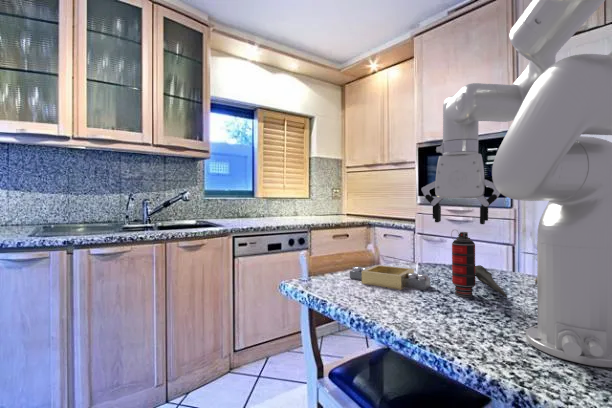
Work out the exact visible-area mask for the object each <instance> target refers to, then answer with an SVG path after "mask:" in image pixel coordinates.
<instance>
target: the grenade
mask: <svg viewBox="0 0 612 408" xmlns="http://www.w3.org/2000/svg"><path fill="white" fill-rule="evenodd" d="M454 231H456V232H457V234H458V235H457V237H456V239H454V238H453V232H454ZM468 235H469V233H468V232H467V231H460V232H459V231H458V229H453V230H452V231H451V234H450V236H451V240H453V241H452V242H451V271H452V273H451V279H452V280H451V282H452V285H454V294H455V295H456V296H457V297H461V298H472V296H473V294H474V293H473V288H474V287H475V286H476V276H475V266H476V244H475V242H474V241H473V240H471V237H469V236H468Z"/></svg>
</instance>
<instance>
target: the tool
mask: <svg viewBox="0 0 612 408" xmlns="http://www.w3.org/2000/svg"><path fill="white" fill-rule="evenodd" d="M475 278H477V279H478V281H480V282H481V283H483V284H485V285H487V286H488V287H489V288H490V289H492V290H493V291H496V292H497V293H499V294H500V295H502V296H503V297H505V298H506V299H507V298H508V295H507V293H506V292H505V291H504V289H502V288H501V287H500V286H499V285H498V283H497V282H496V280H494V278H493V275H492V273H491V272H489V271H488V270H487V269H486V268H485V267H484V266H483V265H475Z"/></svg>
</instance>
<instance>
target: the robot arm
mask: <svg viewBox="0 0 612 408" xmlns="http://www.w3.org/2000/svg"><path fill="white" fill-rule="evenodd" d="M605 1H606V0H531V1H530V2H529V4H528V6H527V7H526V8H525V10H523V12H522V13H521V15H520V16H519V18H518V19H517V21H516V22H515V23H514V24H513V26H512V27H511V28H510V31H509V34H508V36H509V41H510V43H511V45H512V47H513V49H515V50H516V52H517V53H519V54H520V55H521V56H522V57H523V58H525V59H527V61H528V64H527V66H526V68H525V69H524V71H523V72H522V73H521V74H519V75H520V76H518V78H517V79H516V80H515V81H513V83H512V84H502V83H499V84H497V83H478V82H477V83H475V82H474V83H468V84H466V85H464V86H462V87H461V88H460V89H459V90H458V91H457V92H456V93H455V95H451V96H448V97H447V98H446V99H444V101H443V105H442V143H441V145H440V146H436V149H435V151H436V153H440V154H441V155H439V156H438V159H437V164H436V172H435V173H436V174H435V180H434V181H432V182H430V183H428V184H426V185H425V186H423V187H421V192H422V194H423V196H424V197H425V200H426V201H428V203H429V204H430V205H431V206H432V219H433V220H434V223H440V222H441V221H442V206H441V205H440V204H441V202H442V201H444V199H474V198H476V200H478V201H479V203H481V206H480V207H479V224H480V225H485V224H486V222H488V221H489V206H490V205H491V204H493V203H494V202H495V201H496V200H497V199H498V198H499V196H500V195H502V196H504V197H506V198H508V199H512V200H516V201H525V202H526V201H527V202H528V201H529V202H540V201H541V202H547V204H546V205H545V206H546V207H545V208H544V210H543V212H542V214H541V216H540V219H539V221H538V227H537V233H536V235H537V238H536V239H537V240H536V241H537V242H536V245H537V246H536V250H537V251H536V253H537V254H536V258H537V259H536V261H537V262H536V264H537V270H536V271H537V275H536V276H537V277H536V278H537V283H536V284H537V285H536V287H537V288H536V289H537V292H536V293H537V325H534V326H531V327H528V328H527V329H526V330H525V339H526V341H527V342H528V343H529V344H530V345H532V346H533V347H534V348H536V350H537V349H538V350H539V351H541V352H543V353H546V354H547V355H551V356H553V357H557V358H559V359H562V360H565V361H569V362H573V363H576V364H582V365H585V366H586V365H587V366H592V367H598V368H611V369H612V142H611V141H609V140H608V139H602V138H599V137H596V136H597V135H598V136H612V50H611V51H610V52H609V53H608V54H600V53H599V54H597V53H582V54H580V53H579V54H574V55H570V56H567V57H564V58H562V59H560V60H558V61H556V57H557V53H558V52H560V50H561V49H562V47H564V46H565V45H566V43H567V42H569V40H570V39H571V38H572V37H573V36H574V35H575V34H576V33H577V32H578V31H579V30H580V28H581V27H582V26H583V25H584V24H585V23H586V22H587V21H588V20H589V18H591V16H592V15H593V14H594V13H596V11H597V10H598V9H599V8H600V7H601V5H603V4H604V2H605ZM479 122H494V123H495V122H497V123H498V122H500V123H506V122H507V123H509V122H511V123H510V126H509V128H508V130H507V132H506V134H505V136H504V137H503V140H502V141H501V144H500V145H499V147H498V149H497V151H496V153H495V154H496V155H495V157H494V160H493V163H492V168H491V176H492V181H490V180H488V179H485V170H484V169H485V168H484V161H483V157H482V156H483V155H482V154H481V153H479ZM581 135H591V136H581ZM593 135H594V136H595V137H594V136H593ZM592 136H593V137H592ZM486 187H488V188H490V189H492V190H493V192H492V193H491V195H490V196H489V197H488V198H487V197H486V196H485V195H484V194H485V188H486ZM432 189H434V192H435V197H434V196H433V195H432V194H431V193H430V190H432Z"/></svg>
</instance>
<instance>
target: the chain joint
mask: <svg viewBox="0 0 612 408" xmlns="http://www.w3.org/2000/svg"><path fill="white" fill-rule="evenodd" d="M350 278H351V280H358V281H361V284H362V285H369V286H377V287H380V286H381V287H382V288H386V287H387V288H388V289H392V290H393V289H394V290H400V291H401V290H403V289H405V288H407V287H408V289H413V290H414V289H415V290H421V291H427V290H428V289H429V288H430V287H431V277H430V276H429V275H428V274H425V273H415V268H408V267H399V266H389V265H381V264H380V265H379V264H375V265H374V266H371V267H361V266H352V270H350V271H349V279H350Z"/></svg>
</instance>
